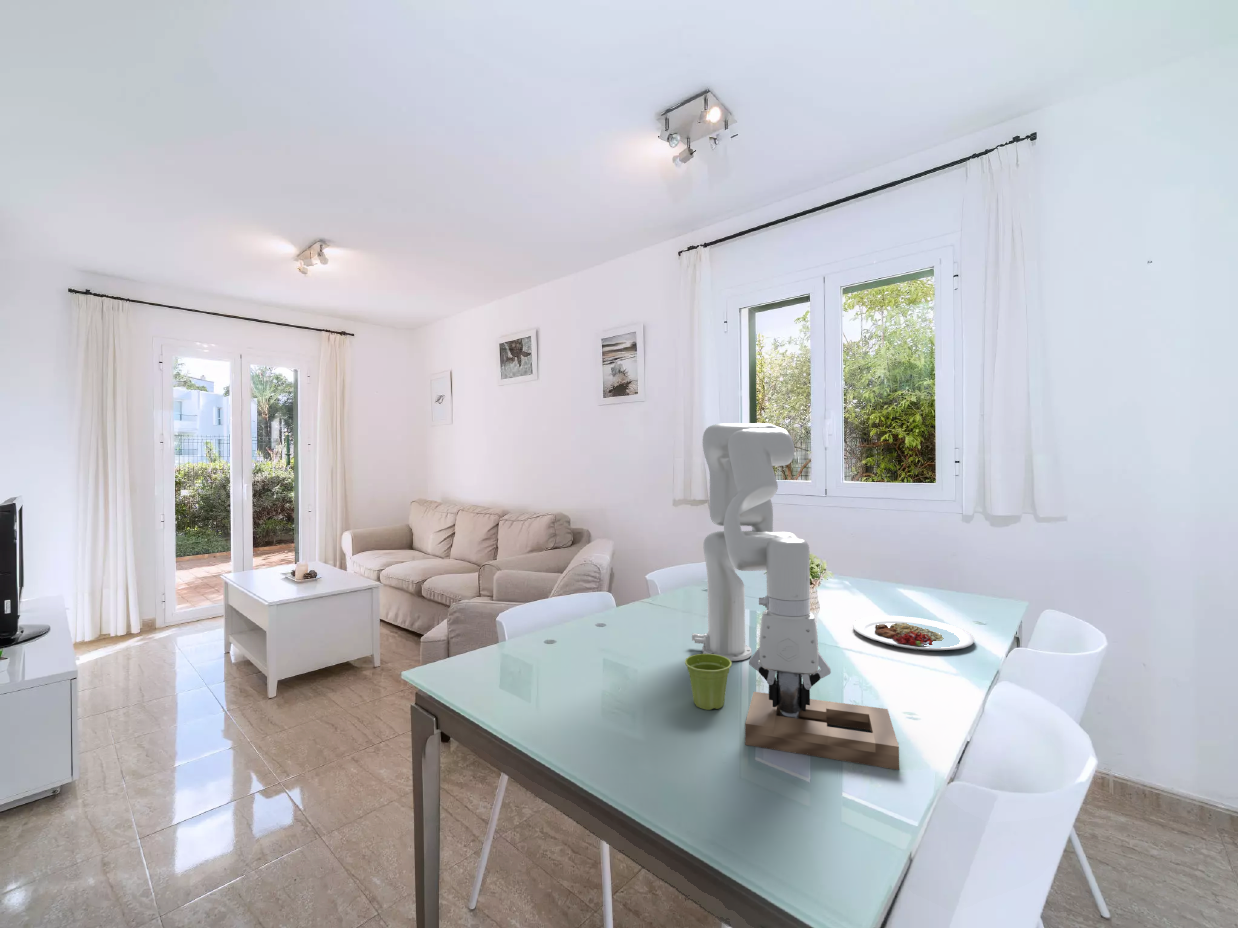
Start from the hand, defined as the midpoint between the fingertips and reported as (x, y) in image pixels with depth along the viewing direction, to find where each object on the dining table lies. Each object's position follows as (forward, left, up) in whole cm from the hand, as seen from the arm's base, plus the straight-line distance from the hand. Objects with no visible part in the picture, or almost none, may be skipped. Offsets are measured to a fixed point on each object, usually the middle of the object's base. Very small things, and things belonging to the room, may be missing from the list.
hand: (789, 704), depth 98 cm
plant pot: (-16, +7, -5) cm, 18 cm away
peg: (0, 0, -5) cm, 5 cm away
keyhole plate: (+5, 0, -5) cm, 7 cm away
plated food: (+30, +68, -5) cm, 74 cm away
